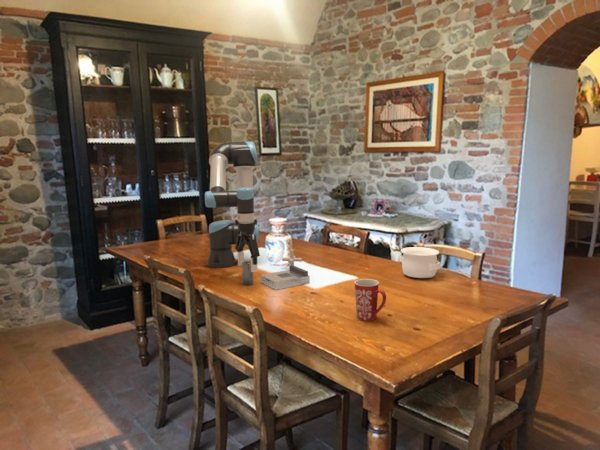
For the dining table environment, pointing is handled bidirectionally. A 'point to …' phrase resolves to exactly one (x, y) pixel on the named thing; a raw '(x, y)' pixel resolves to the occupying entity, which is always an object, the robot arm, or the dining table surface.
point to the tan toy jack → (292, 258)
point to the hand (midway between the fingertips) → (247, 268)
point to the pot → (419, 262)
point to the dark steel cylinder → (247, 274)
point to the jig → (286, 278)
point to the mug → (367, 299)
